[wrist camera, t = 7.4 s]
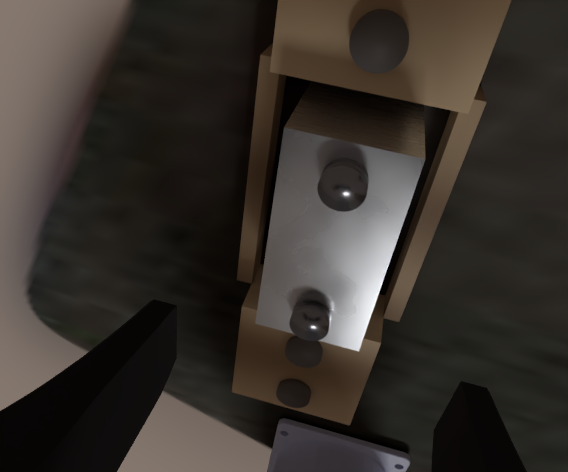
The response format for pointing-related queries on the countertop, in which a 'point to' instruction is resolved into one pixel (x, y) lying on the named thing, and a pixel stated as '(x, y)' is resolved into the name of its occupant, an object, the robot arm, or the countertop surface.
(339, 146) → the white box with knobs
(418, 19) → the wooden frame
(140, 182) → the countertop surface
